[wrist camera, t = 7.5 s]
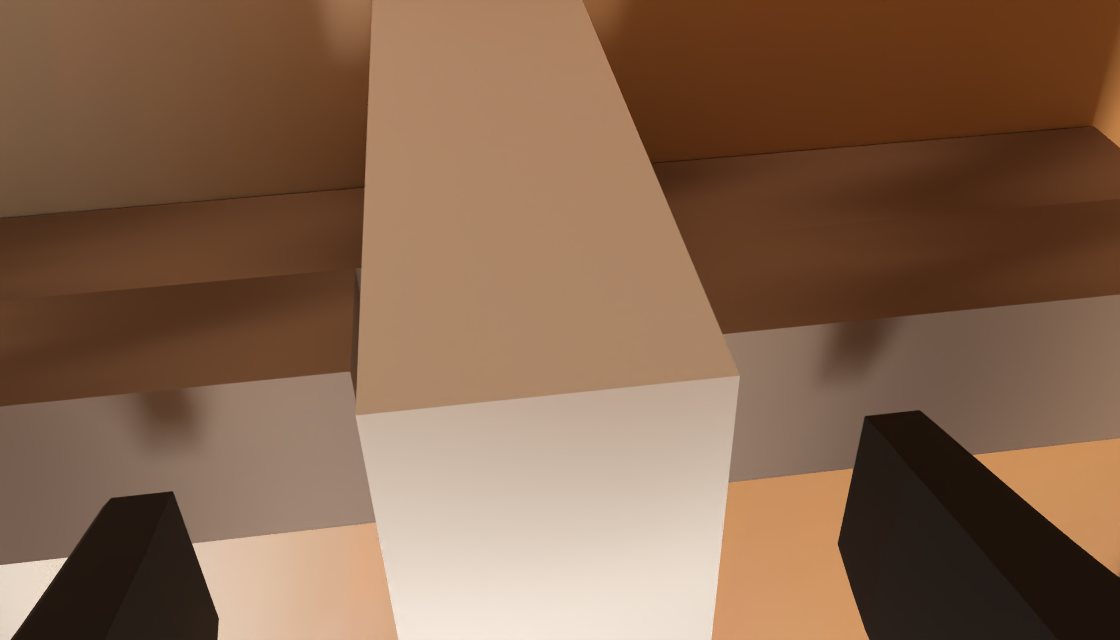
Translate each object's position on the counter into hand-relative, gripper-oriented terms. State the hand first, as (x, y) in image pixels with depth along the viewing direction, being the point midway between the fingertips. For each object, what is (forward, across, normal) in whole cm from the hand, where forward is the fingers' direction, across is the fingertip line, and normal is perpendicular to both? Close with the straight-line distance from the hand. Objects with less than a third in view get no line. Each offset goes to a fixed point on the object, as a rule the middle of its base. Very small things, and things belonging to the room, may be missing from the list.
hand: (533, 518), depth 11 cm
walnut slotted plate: (+5, 0, 0) cm, 5 cm away
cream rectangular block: (+5, 0, 0) cm, 5 cm away
